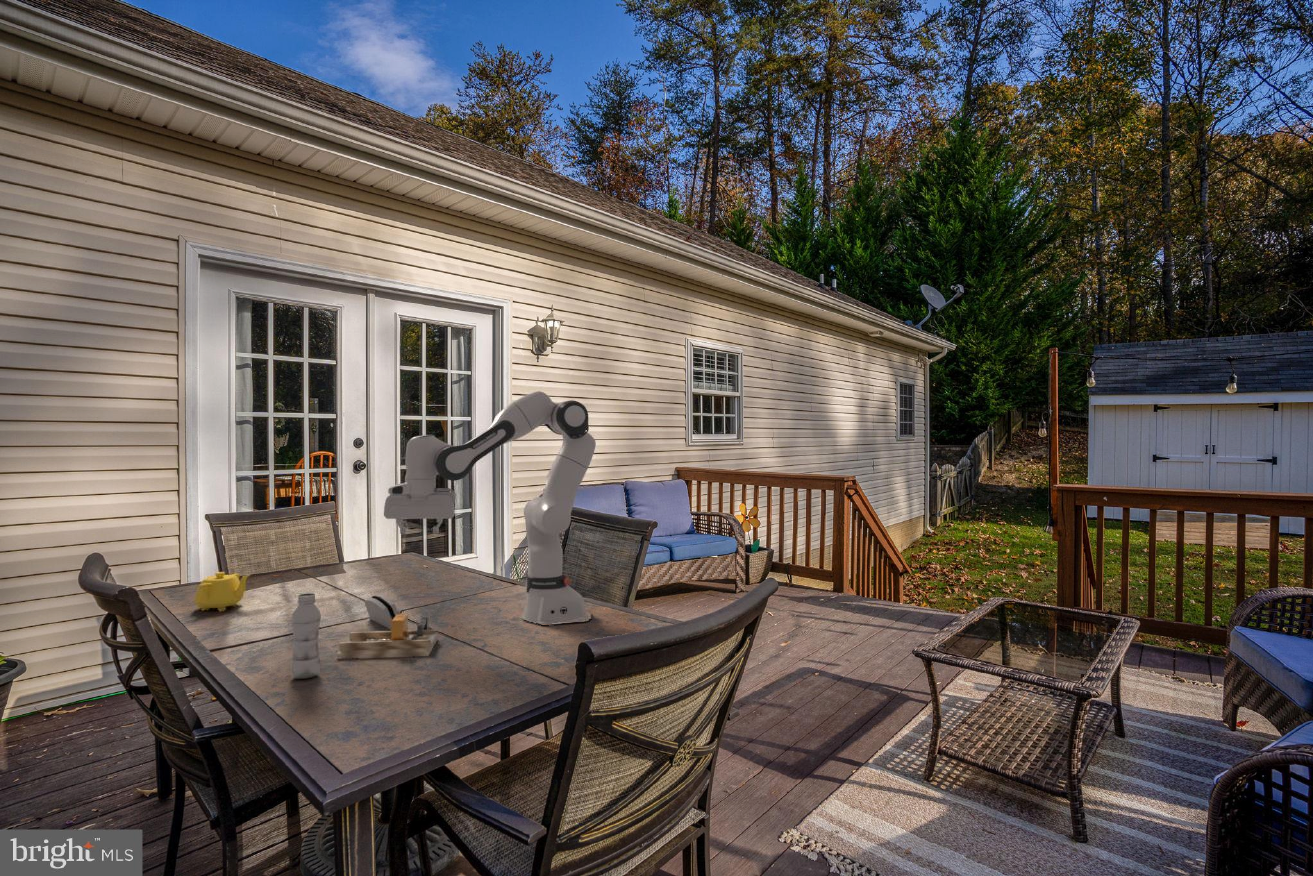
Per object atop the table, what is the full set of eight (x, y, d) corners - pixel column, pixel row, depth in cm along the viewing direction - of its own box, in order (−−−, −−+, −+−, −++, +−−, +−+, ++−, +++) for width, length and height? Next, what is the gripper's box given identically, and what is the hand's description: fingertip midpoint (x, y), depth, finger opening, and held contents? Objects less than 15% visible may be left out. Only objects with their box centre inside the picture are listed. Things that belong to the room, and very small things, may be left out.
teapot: (199, 616, 203) (200, 579, 203) (190, 607, 213) (190, 572, 213) (250, 608, 213) (250, 573, 213) (239, 600, 223) (239, 566, 223)
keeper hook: (428, 634, 186) (428, 617, 186) (422, 643, 178) (423, 625, 178) (421, 634, 185) (422, 617, 185) (416, 643, 177) (416, 625, 177)
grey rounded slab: (408, 626, 197) (398, 598, 194) (394, 635, 194) (383, 606, 191) (385, 615, 208) (375, 588, 206) (371, 623, 205) (360, 595, 203)
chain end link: (435, 637, 182) (436, 613, 182) (431, 645, 175) (431, 620, 175) (369, 639, 179) (370, 614, 179) (362, 648, 172) (362, 622, 172)
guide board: (437, 639, 186) (437, 627, 186) (428, 656, 172) (428, 643, 172) (352, 642, 182) (353, 629, 182) (336, 659, 168) (337, 646, 168)
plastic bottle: (299, 684, 151) (301, 599, 151) (284, 678, 155) (285, 595, 155) (326, 676, 157) (327, 594, 156) (310, 670, 160) (312, 590, 160)
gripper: (457, 487, 200) (456, 531, 200) (388, 486, 196) (387, 532, 197) (454, 489, 194) (453, 534, 194) (382, 488, 190) (381, 535, 190)
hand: (419, 533), depth 195 cm, fingers open, 8 cm apart
